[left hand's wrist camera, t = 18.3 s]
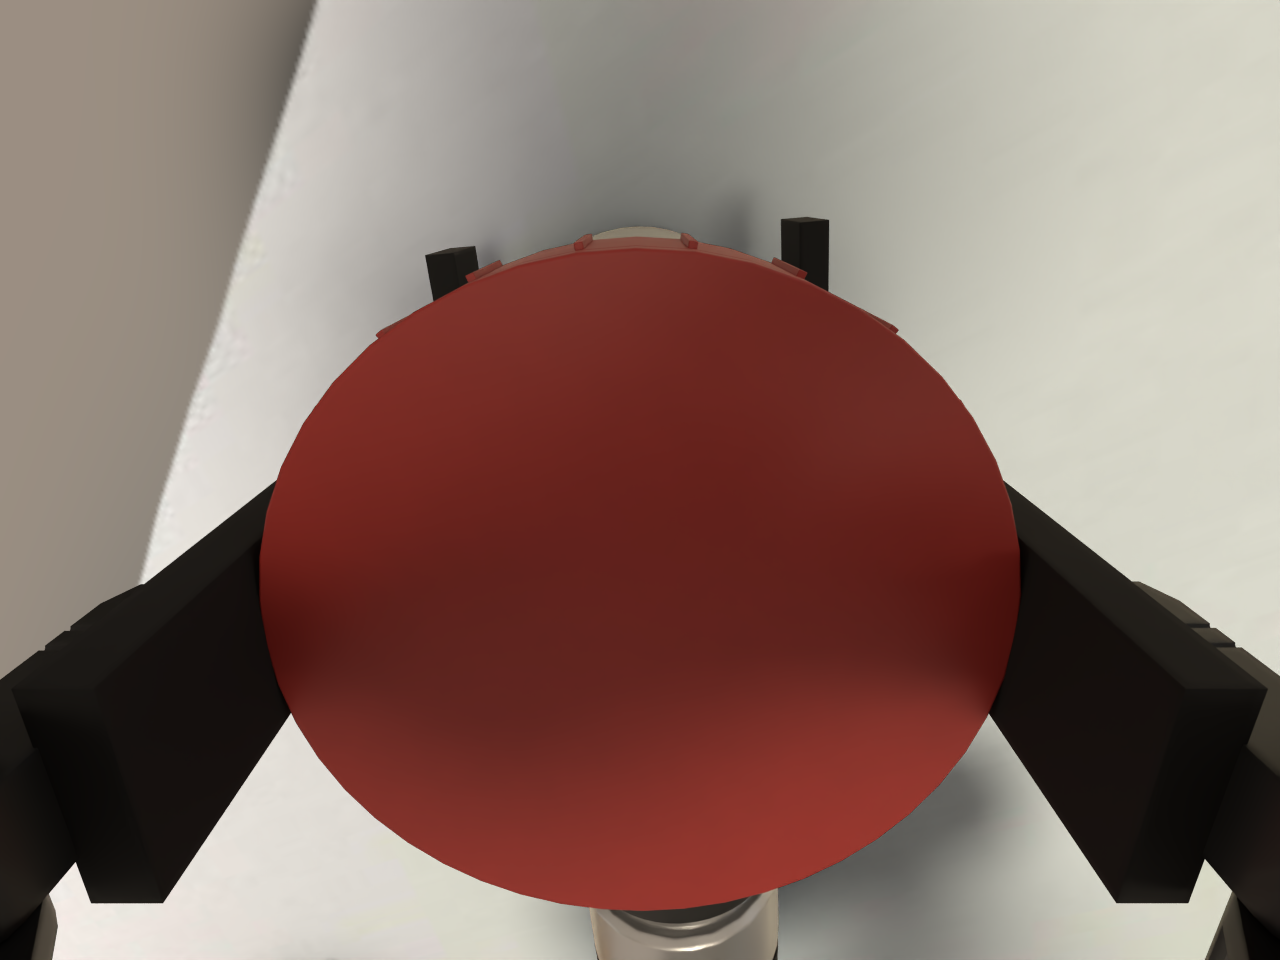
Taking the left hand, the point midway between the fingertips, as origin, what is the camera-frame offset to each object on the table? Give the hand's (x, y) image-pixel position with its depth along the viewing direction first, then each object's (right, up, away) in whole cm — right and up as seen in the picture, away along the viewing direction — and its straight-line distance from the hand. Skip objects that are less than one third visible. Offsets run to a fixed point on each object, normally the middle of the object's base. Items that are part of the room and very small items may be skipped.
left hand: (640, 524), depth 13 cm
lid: (0, -1, -3) cm, 3 cm away
